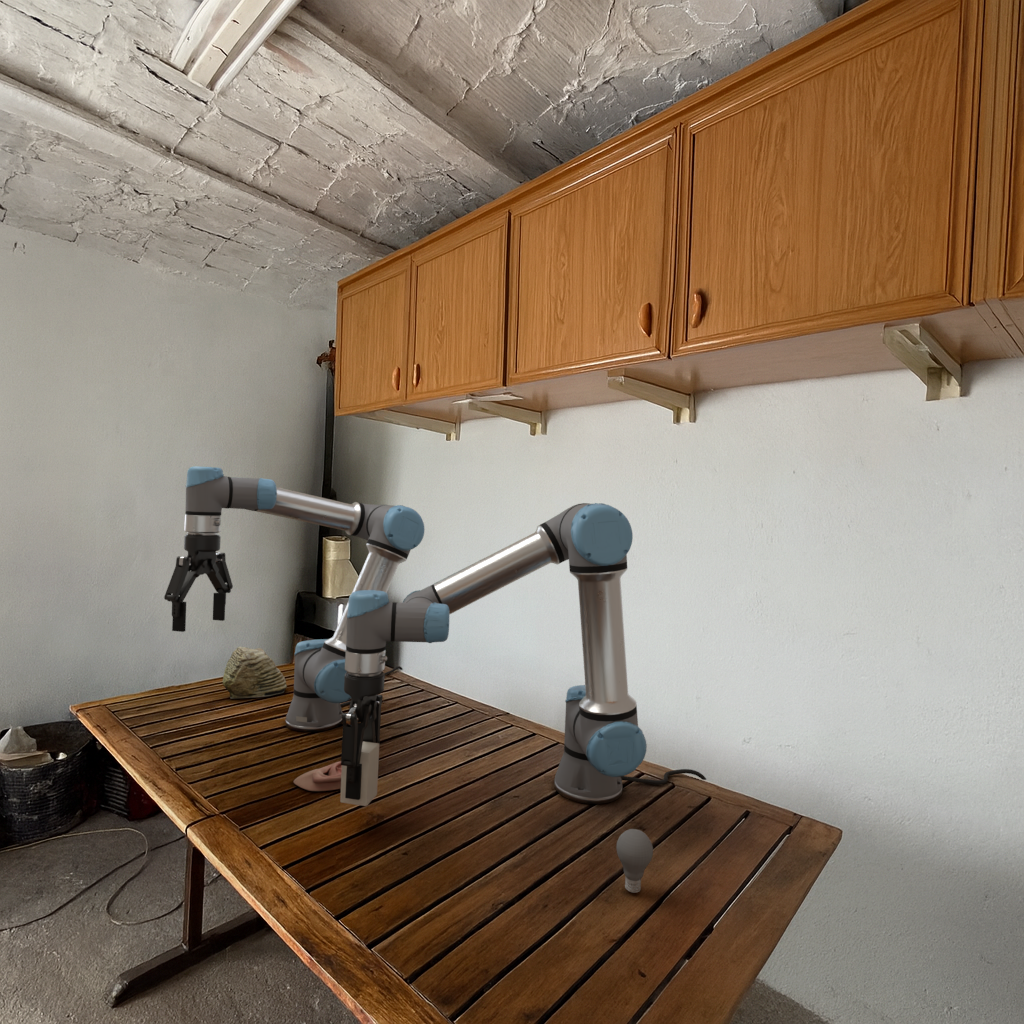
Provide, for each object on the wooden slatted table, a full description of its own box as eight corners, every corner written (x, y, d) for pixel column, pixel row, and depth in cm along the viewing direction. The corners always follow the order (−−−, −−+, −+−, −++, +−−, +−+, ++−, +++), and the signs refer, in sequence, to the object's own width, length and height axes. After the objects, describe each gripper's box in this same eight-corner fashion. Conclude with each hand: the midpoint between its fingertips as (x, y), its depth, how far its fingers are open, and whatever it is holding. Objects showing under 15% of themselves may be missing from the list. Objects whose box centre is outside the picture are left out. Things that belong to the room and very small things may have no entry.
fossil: (218, 695, 195) (220, 647, 195) (278, 685, 208) (279, 640, 207) (228, 703, 189) (230, 653, 188) (289, 692, 201) (290, 645, 201)
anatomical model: (286, 769, 137) (313, 749, 148) (285, 787, 137) (312, 766, 148) (343, 777, 134) (366, 756, 145) (342, 796, 134) (365, 773, 145)
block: (340, 802, 120) (342, 749, 120) (351, 790, 125) (354, 740, 125) (366, 806, 119) (369, 753, 119) (377, 794, 124) (379, 743, 124)
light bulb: (610, 879, 108) (613, 822, 108) (644, 879, 109) (647, 822, 109) (619, 902, 102) (622, 840, 102) (655, 901, 103) (658, 840, 103)
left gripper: (178, 537, 133) (175, 637, 133) (249, 532, 157) (246, 617, 158) (147, 535, 134) (144, 634, 135) (222, 530, 159) (219, 614, 159)
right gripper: (363, 686, 112) (357, 816, 113) (400, 662, 130) (395, 774, 130) (324, 682, 114) (318, 810, 114) (366, 658, 131) (361, 769, 132)
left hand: (199, 625), depth 146 cm, fingers open, 13 cm apart
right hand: (359, 791), depth 122 cm, fingers closed on block, 5 cm apart
